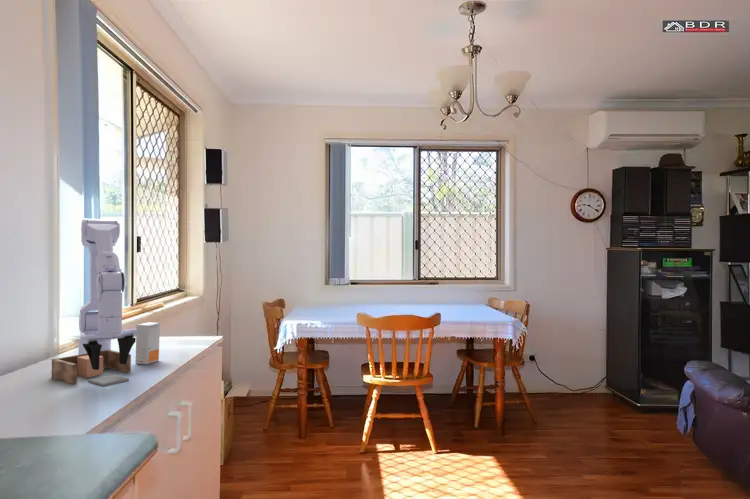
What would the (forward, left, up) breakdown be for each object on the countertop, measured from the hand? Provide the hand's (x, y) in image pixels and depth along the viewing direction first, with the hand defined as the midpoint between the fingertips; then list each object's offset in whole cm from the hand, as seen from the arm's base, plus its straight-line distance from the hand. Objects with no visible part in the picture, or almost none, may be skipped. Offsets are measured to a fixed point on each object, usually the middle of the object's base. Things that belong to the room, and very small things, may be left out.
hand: (109, 366), depth 139 cm
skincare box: (-10, +18, -4) cm, 21 cm away
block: (-10, 0, -4) cm, 10 cm away
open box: (-9, 0, -4) cm, 9 cm away
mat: (+1, -1, -4) cm, 4 cm away
